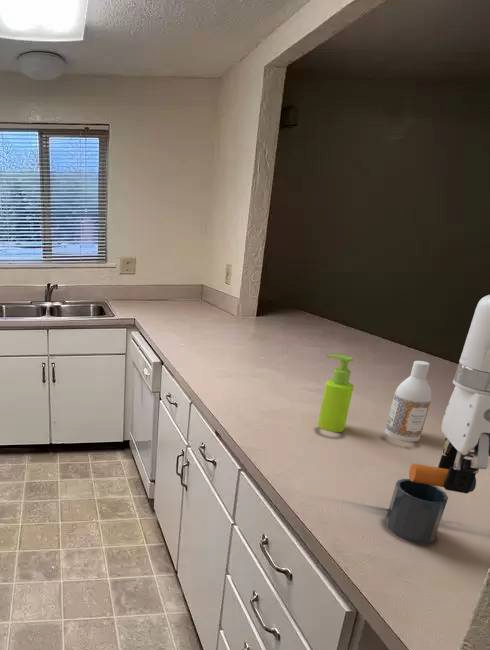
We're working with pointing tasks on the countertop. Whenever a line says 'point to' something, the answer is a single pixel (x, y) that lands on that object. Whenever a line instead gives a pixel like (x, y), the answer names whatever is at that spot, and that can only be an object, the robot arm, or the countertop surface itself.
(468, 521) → the countertop surface
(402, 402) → the bath foam
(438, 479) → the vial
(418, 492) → the holder
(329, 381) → the soap dispenser
